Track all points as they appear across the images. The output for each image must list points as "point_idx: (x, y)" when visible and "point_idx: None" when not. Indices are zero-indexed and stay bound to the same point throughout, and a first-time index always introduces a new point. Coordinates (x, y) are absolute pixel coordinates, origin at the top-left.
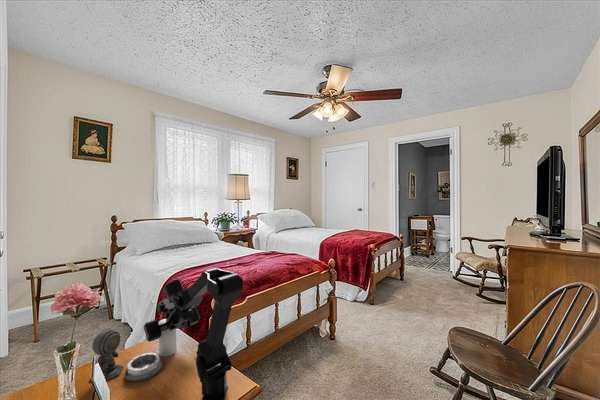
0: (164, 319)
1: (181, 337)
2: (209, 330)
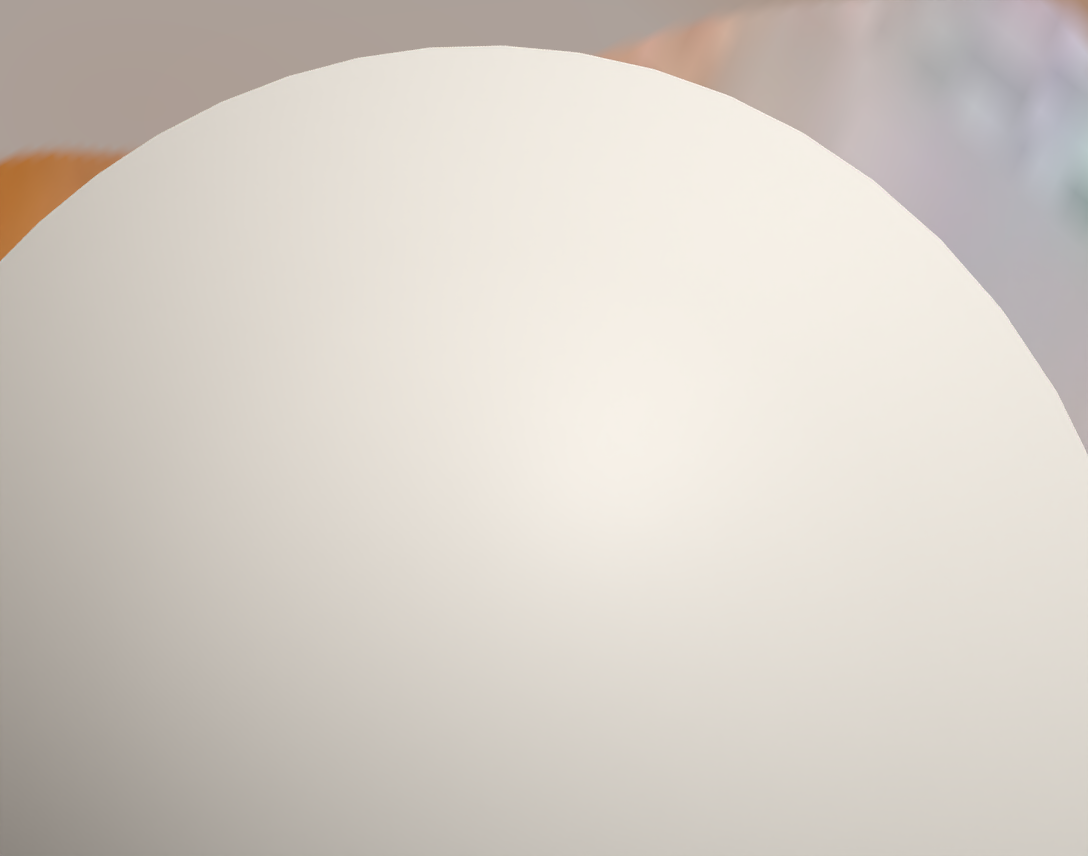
0: (410, 163)
1: (1066, 311)
2: None
